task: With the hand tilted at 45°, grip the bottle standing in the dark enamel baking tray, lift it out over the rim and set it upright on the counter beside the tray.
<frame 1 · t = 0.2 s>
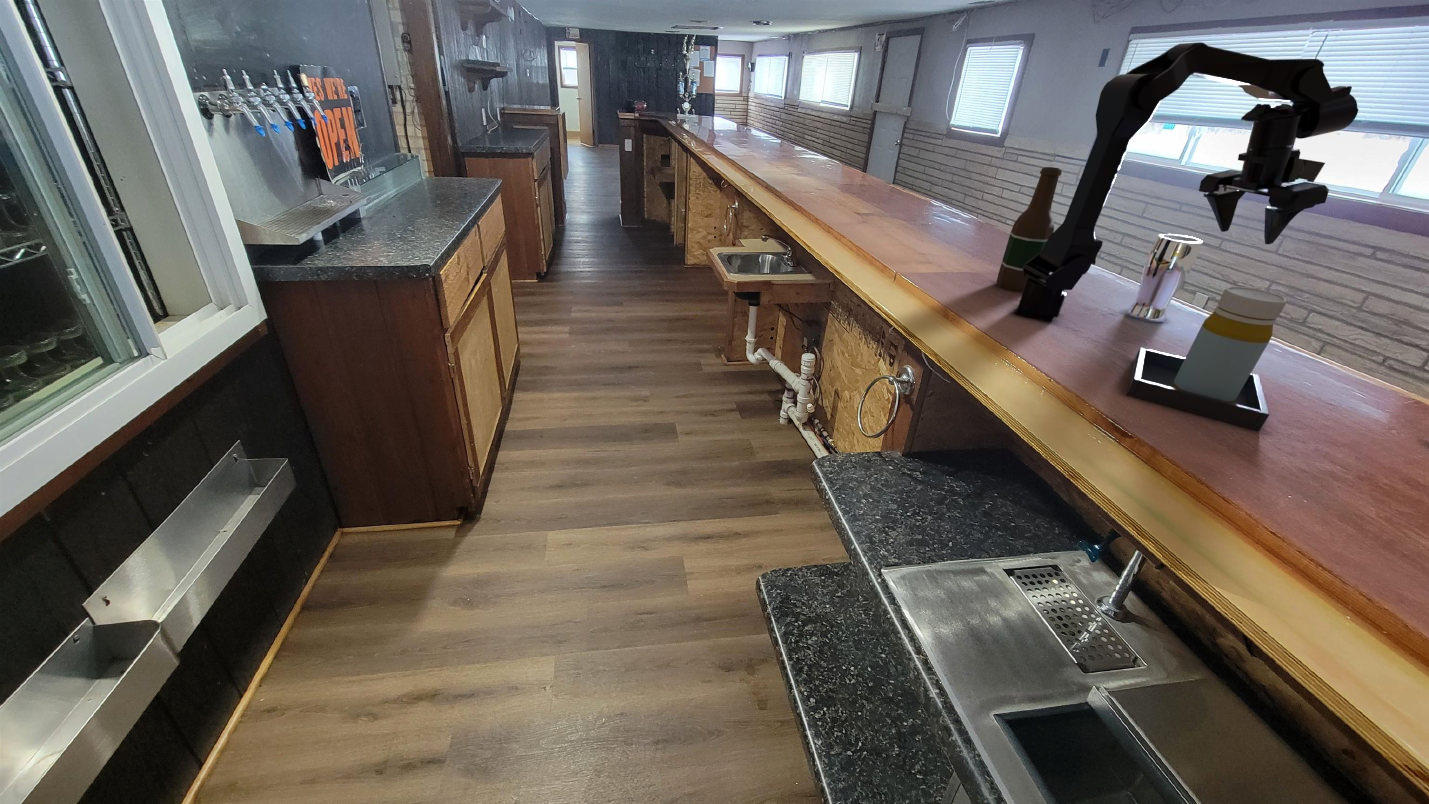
hand: (1245, 237, 102), 15 cm above the counter, tool pointing down, fingers open, 9 cm apart
beer glass: (1144, 317, 109), on the counter
bottle: (1199, 398, 79), resting on tray
beer bottle: (1014, 287, 122), on the counter
tray: (1189, 392, 81), on the counter
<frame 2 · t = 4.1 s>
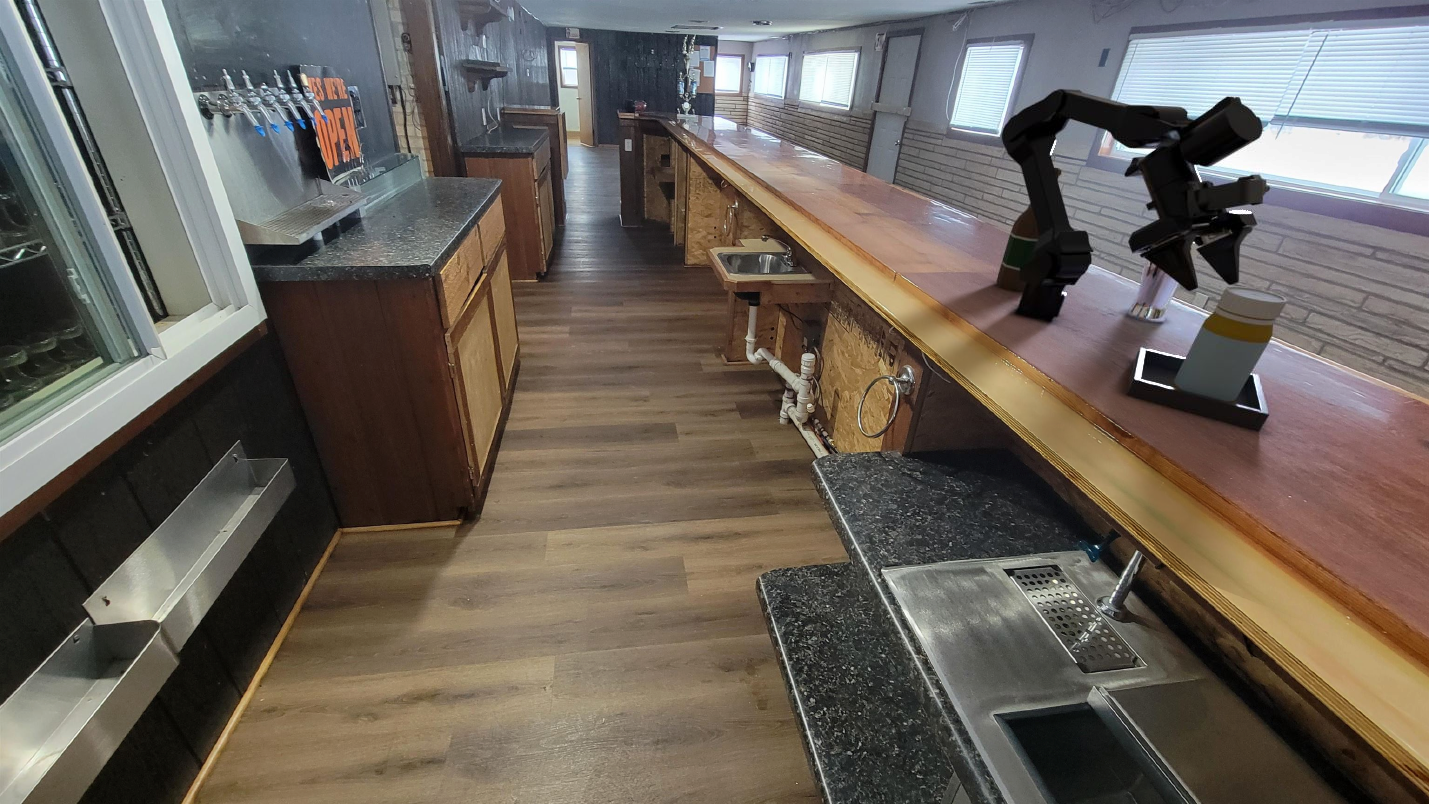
hand: (1214, 286, 79), 14 cm above the counter, tool tilted 40°, fingers open, 9 cm apart
nothing on the counter moved.
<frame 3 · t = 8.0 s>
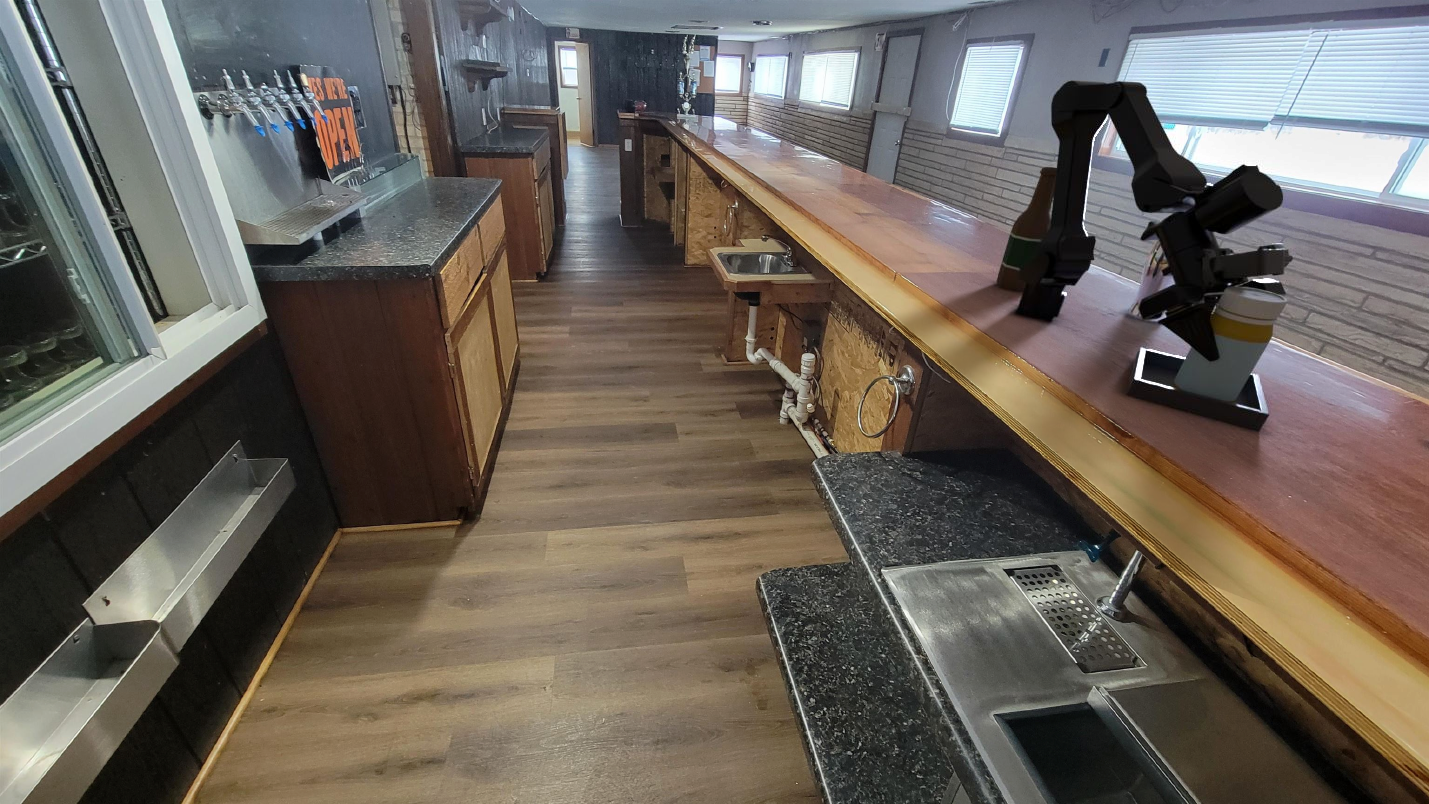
hand: (1233, 358, 74), 7 cm above the counter, tool tilted 45°, fingers closed on bottle, 6 cm apart
bottle: (1199, 398, 79), resting on tray, touching gripper
everything else where it was.
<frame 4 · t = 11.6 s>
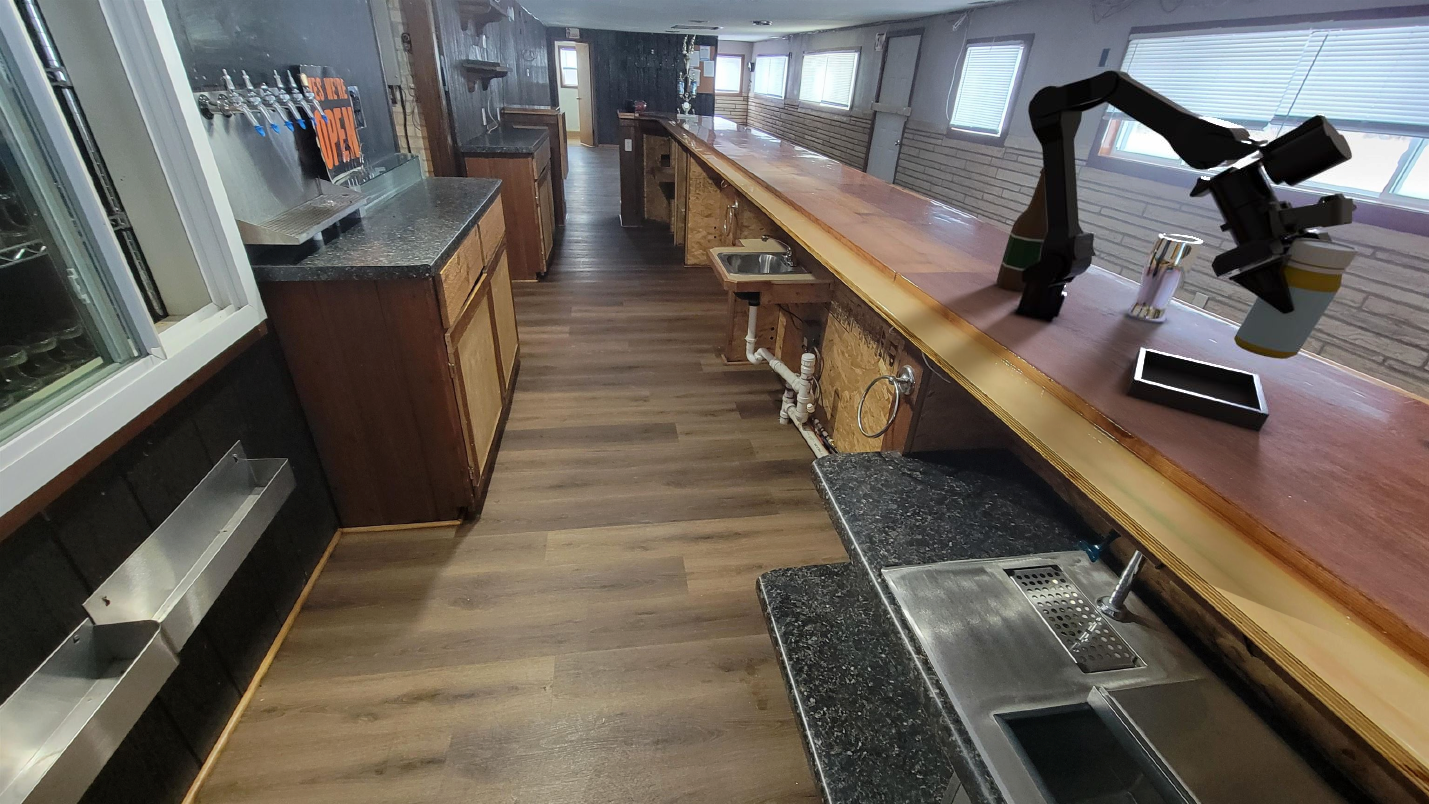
hand: (1301, 309, 76), 13 cm above the counter, tool tilted 45°, fingers closed on bottle, 6 cm apart
bottle: (1261, 350, 80), point 6 cm above the counter, touching gripper
everything else where it was.
when the fingers open (7 cm above the counter, at t = 15.2 s): bottle stays where it is, on the counter.
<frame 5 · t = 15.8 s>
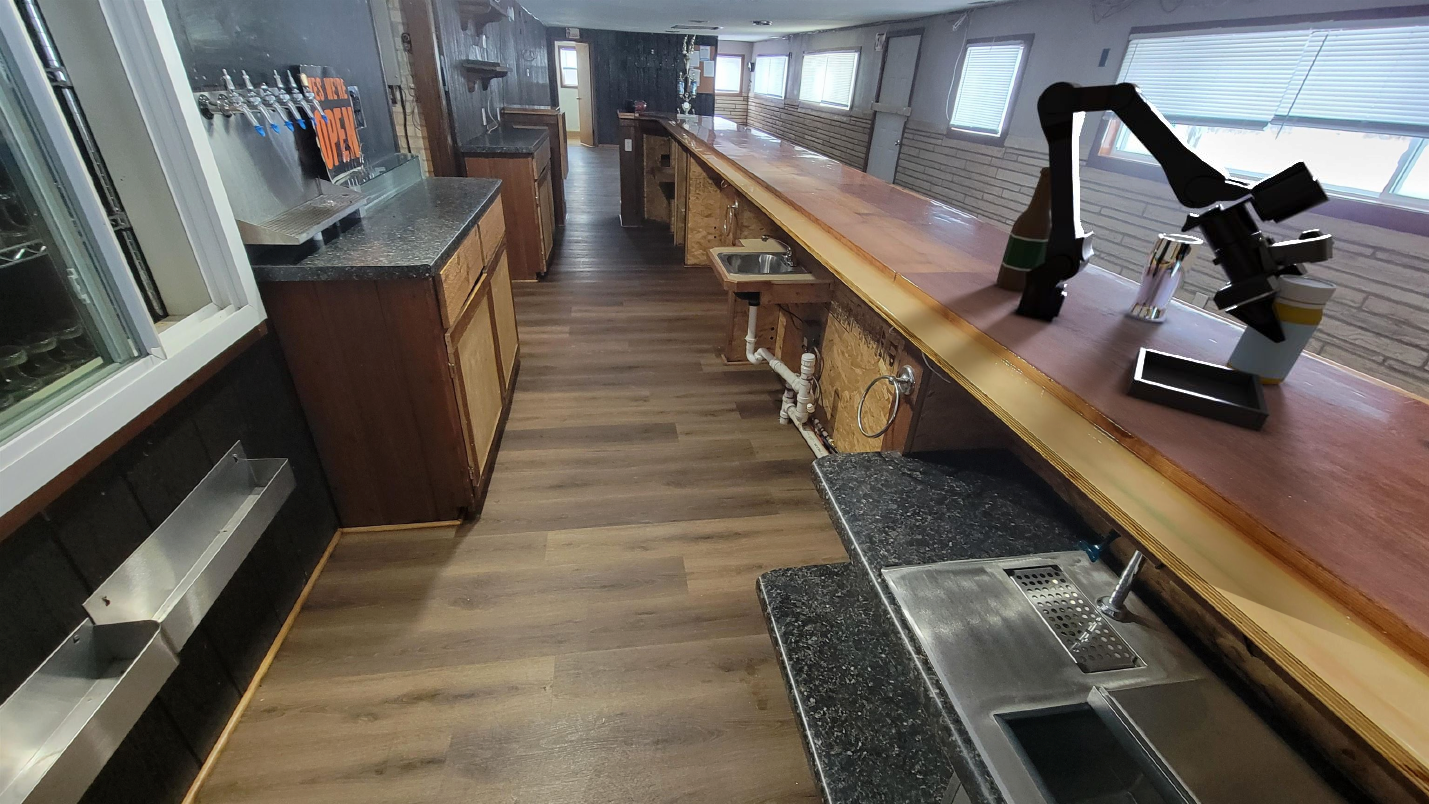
hand: (1290, 335, 82), 7 cm above the counter, tool tilted 45°, fingers open, 9 cm apart
bottle: (1251, 376, 87), on the counter, touching gripper
everything else where it was.
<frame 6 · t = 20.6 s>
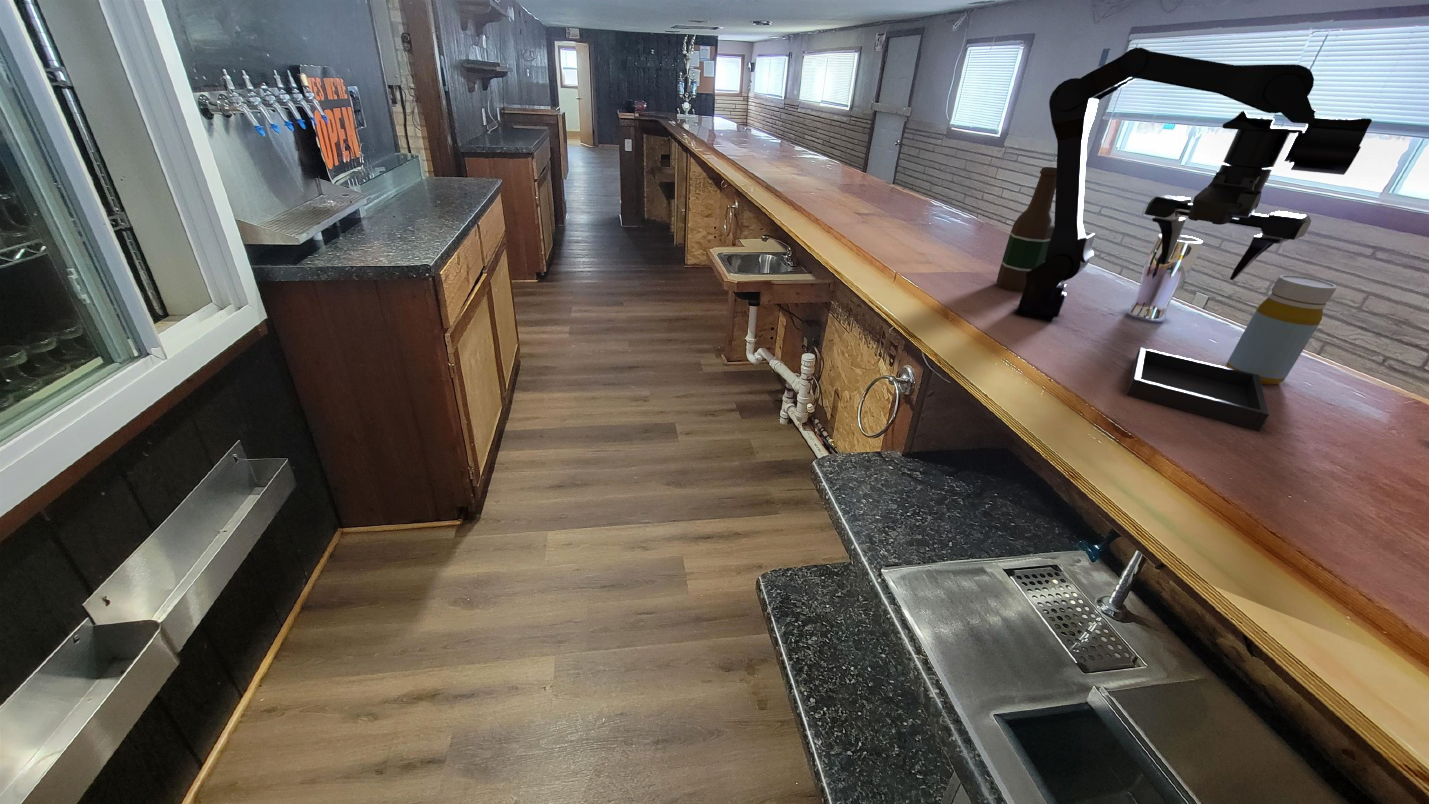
hand: (1196, 271, 89), 13 cm above the counter, tool pointing down, fingers open, 9 cm apart
bottle: (1251, 376, 87), on the counter
everything else where it was.
at the end: bottle inside the target area (0.1 cm from its centre), on the counter; bottle tilted 0°; the gripper is holding nothing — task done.
